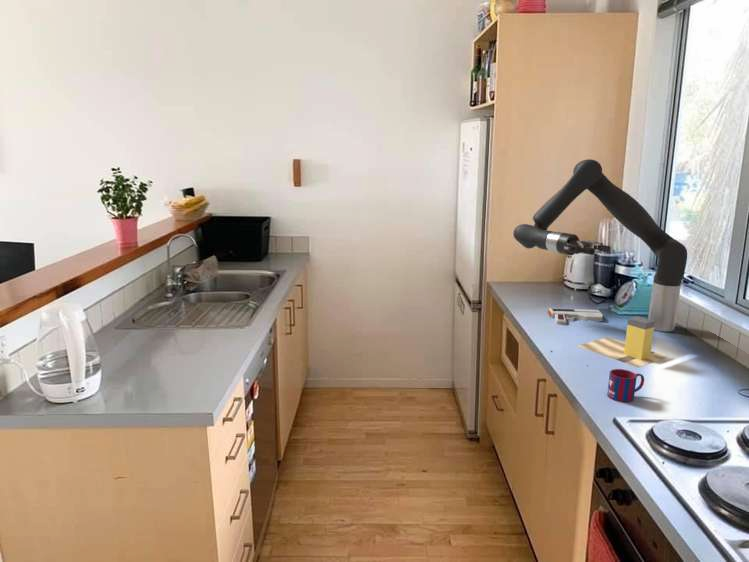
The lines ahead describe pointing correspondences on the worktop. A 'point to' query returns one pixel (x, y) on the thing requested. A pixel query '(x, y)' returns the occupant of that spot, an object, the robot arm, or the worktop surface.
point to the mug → (623, 385)
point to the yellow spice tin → (639, 337)
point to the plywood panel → (619, 351)
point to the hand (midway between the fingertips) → (602, 250)
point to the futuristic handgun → (574, 315)
